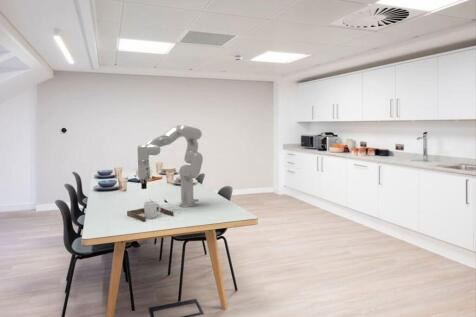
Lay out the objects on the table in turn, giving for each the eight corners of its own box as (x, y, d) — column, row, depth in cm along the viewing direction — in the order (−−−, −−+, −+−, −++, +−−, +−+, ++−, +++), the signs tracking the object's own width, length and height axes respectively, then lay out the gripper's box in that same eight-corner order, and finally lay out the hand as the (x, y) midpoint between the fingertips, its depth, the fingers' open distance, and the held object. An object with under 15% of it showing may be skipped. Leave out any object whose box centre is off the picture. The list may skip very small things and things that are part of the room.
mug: (157, 214, 258) (157, 199, 257) (163, 216, 252) (163, 201, 251) (142, 217, 250) (141, 202, 249) (148, 219, 244) (147, 204, 243)
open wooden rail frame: (155, 210, 270) (155, 206, 270) (173, 215, 252) (173, 211, 252) (127, 215, 255) (127, 211, 255) (144, 222, 237) (144, 217, 237)
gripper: (153, 163, 252) (154, 189, 254) (143, 161, 263) (143, 186, 265) (143, 164, 247) (144, 190, 249) (133, 162, 258) (134, 188, 260)
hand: (144, 188), depth 257 cm, fingers closed
